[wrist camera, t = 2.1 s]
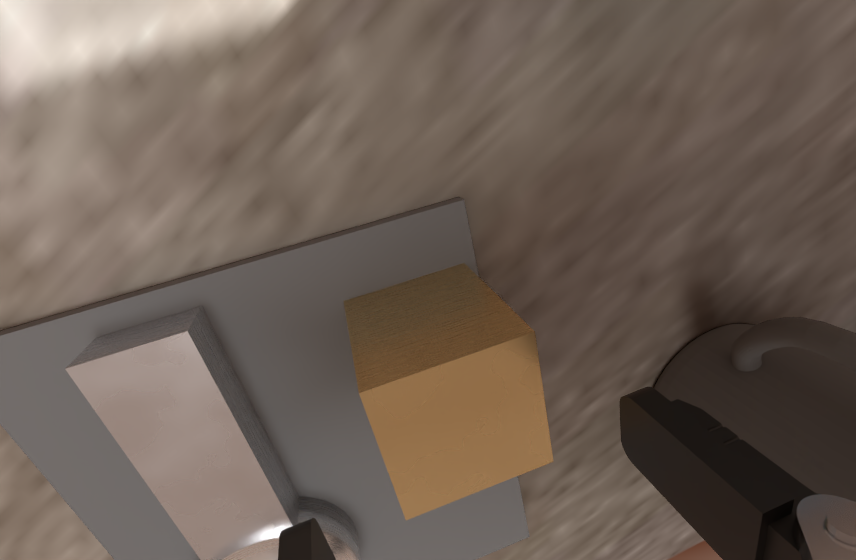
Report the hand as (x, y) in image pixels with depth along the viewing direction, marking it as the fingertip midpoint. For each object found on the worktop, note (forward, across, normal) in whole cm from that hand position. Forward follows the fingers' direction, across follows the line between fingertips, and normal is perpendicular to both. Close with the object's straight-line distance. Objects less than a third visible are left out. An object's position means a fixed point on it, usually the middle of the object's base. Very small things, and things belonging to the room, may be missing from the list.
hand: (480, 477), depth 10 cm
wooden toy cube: (+8, 0, 0) cm, 8 cm away
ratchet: (+8, +9, +5) cm, 13 cm away
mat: (+8, +6, +5) cm, 12 cm away
